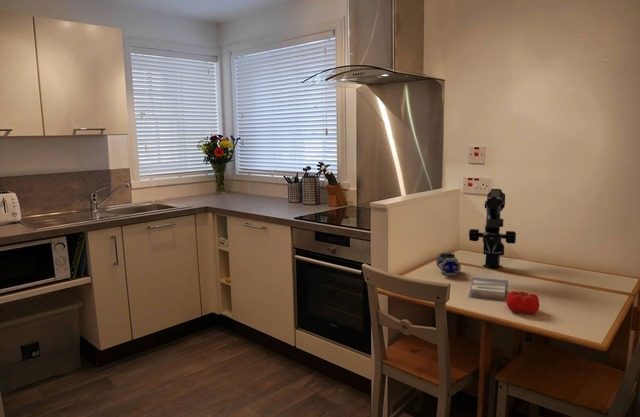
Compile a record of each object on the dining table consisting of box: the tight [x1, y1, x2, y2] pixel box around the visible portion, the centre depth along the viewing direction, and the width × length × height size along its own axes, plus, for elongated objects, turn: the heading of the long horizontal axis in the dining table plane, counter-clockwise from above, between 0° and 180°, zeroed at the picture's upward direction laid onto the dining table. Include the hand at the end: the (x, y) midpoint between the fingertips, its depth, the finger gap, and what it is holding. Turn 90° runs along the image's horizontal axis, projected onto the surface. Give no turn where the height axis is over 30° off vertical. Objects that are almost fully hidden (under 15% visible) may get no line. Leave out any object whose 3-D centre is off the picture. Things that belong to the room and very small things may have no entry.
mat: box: [467, 277, 509, 303], centre depth 190 cm, size 28×14×1 cm, turn 158°
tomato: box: [505, 290, 540, 315], centre depth 166 cm, size 10×11×6 cm
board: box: [470, 280, 505, 300], centre depth 184 cm, size 3×12×12 cm
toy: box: [435, 252, 462, 277], centre depth 211 cm, size 9×9×15 cm
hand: (490, 252), depth 196 cm, fingers closed
